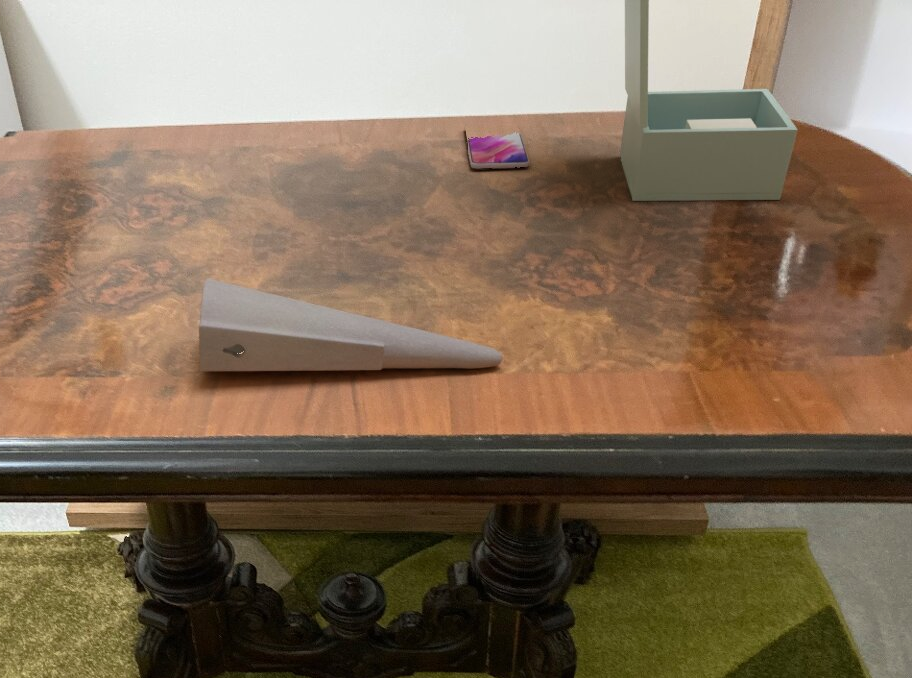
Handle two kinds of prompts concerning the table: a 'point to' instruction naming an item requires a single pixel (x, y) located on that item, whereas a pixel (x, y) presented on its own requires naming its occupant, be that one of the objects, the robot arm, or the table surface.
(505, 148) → the smartphone
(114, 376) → the table surface
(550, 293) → the table surface
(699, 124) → the stepped cream block
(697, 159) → the shoebox
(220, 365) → the grey tapered spike
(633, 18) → the shoebox lid
